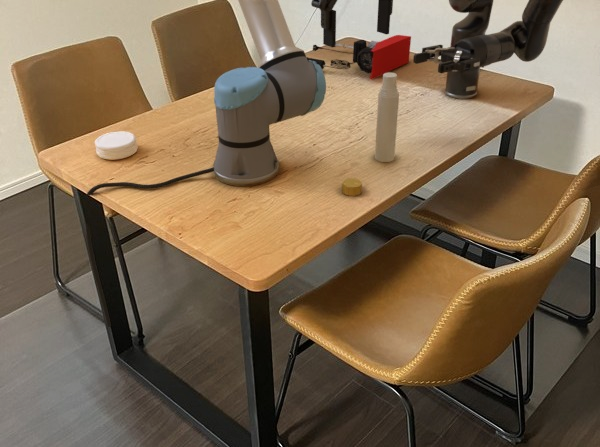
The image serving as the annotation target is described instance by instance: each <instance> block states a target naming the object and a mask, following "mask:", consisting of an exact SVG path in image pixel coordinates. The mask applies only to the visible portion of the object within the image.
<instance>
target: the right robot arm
mask: <svg viewBox="0 0 600 447" xmlns="http://www.w3.org/2000/svg"><path fill="white" fill-rule="evenodd" d="M563 1H564V0H528V1H527V3H526V5H525V7H524V9H523V12H522V14H521V20H517V21H515V22H512V23H511V24H510V25H509V26H507V27H505V28H504V29H502V30H500V31H498V32H494V33H493V32H492V33H490V34H486V32H487V30H488V28H489V25H490V20H491V15H492V10H493V6H494V0H448V4H449V5H450V8H451V9H452V10H453V11H455V12H457V13H461V14H467V15H466V16H465V17H464V18H463V19H461V20H460V21H458V22H456V23H455V24H454V25H453V26H452V29H451V35H450V36H451V37H450V45H449V46H448V47H443V46H444V45H443V44H436V45H431V46H426V47H425V46H424V47H422V48H421V52H418V53H414V55H413V59H412V61H413V62H412V63H413V64H415V65H416V64H417V65H418V64H421V63H426V62H433V63H434V64H438V66H437V73H439V74H445V73H446V80H445V88H444V94H445V95H446V96H448V97H449V98H453V99H459V100H467V99H468V100H469V99H473V98H475V97H477V95H478V86H479V78H480V72H481V68H482V69H483V68H485V67H487V66H490V65H493V64H495V63H499V62H503V61H507V60H508V59H511V57H513V56H514V55H515V56H516V57H517V58H518V59H519V60H520V61H522V62H525V63H527V62H528V63H529V62H532V61H534V60H536V59H537V58H539V57H540V55H541V54H542V53H543V51H544V49H545V47H546V44H547V42H548V36H549V31H550V27H551V22H552V21H553V19H554V17H555V16H556V14H557V12H558V10H559V9H560V7H561V5H562V3H563ZM439 58H440V59H439Z"/></svg>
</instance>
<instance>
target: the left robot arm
mask: <svg viewBox="0 0 600 447" xmlns="http://www.w3.org/2000/svg"><path fill="white" fill-rule="evenodd" d="M237 1H238V4H239V7H240V9H241V11H242V14H243V17H244V19H245V22H246V26H247V28H248V30H249V32H250V35H251V38H252V40H253V43H254V46H255V48H256V52H257V54H258V57H259V59H260V62H259V64H258V66H246V67H243V66H241V67H237V68H233V69H231V70H228V71H226V72H224V73H223V74H221V75H220V76H219V77H218V78H216V80H215V83H214V88H213V89H214V91H213V92H214V94H213V95H214V97H213V103H214V106H215V115H216V127H217V135H218V145H217V149H216V153H215V159H214V162H213V164H212V167H210V168H206V169H202V170H198V171H195V172H191V173H187V174H184V175H181V176H177V177H175V178H174V177H173V178H171V179H168V180H166V181H162V182H158V183H152V184H142V183H136V182H129V181H119V182H103V183H99V184H96V185H94V186H92V187H91V188H90V189H89V190H88V191H87V192H86V196H92V195H93V194H94V193H95V192H96V191H98V190H100V189H103V188H118V187H119V188H120V187H130V188H135V189H142V190H143V189H144V190H150V189H158V188H162V187H165V186H169V185H172V184H174V183H178V182H181V181H185V180H188V179H190V178H194V177H198V176H202V175H205V174H209V173H210V174H211V173H213V176H214V177H215V179H217V181H219V182H220V183H223V184H225V185H228V186H229V185H230V186H234V187H251V186H252V187H253V186H257V185H261V184H265V183H267V182H269V181H271V180H273V179H274V178H275V177H276V176H277V175H278V174H279V171H280V166H279V164H280V163H279V159H278V156H277V154H276V151H275V149H274V146H273V144H272V142H271V138H270V136H271V135H270V134H271V133H270V126H271V125H274V124H277V123H280V122H285V121H287V120H291V119H293V118H297V117H300V116H301V117H304V116H305V115H308V114H309V113H312V112H315V111H316V110H318V109H320V108H321V106H322V104H323V103H324V100H325V96H326V93H327V92H326V91H327V82H326V76H325V73H324V69H322V68H321V67H320V65H319V64H317V63H316V62H315V61H311V60H307V58H306V57H307V55H306V53H305V50H304V49H302V48H299V47H297V46H296V45H295V42H294V39H293V37H292V34H291V32H290V28H289V26H288V23H287V21H286V18H285V15H284V13H283V10H282V8H281V5H280V2H279V0H237ZM377 1H378V3H377V22H376V23H377V24H376V32H377V33H381V34H383V35H389V34H390V26H391V25H390V24H391V16H392V14H393V9H394V8H393V5H394V0H377ZM337 2H338V0H311V7H313V8H316V9H319V10H320V27H321V29H323V34H322V35H323V36H322V37H323V39H322V41H323V42H322V44H323V45H325V46H327V47H329V48H336V47H337V46H336V43H337V41H336V40H337V37H336V36H337V10H335V9H334V8H335V5H336V4H337ZM85 233H86V243H87V248H88V254H89V258H90V263H91V267H92V271H93V274H94V279H95V282H96V286H97V290H98V294H99V298H100V301H101V305H102V308H103V312H104V317H105V322H106V326H107V328H110V327H112V324H111V319H110V318H111V317H110V314H109V309H108V305H107V302H106V298H105V297H106V296H105V294H104V290H103V286H102V282H101V279H100V275H99V271H98V267H97V263H96V258H95V254H94V248H93V243H92V235H91V226H90V225H89V224H87V222H85Z"/></svg>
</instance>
